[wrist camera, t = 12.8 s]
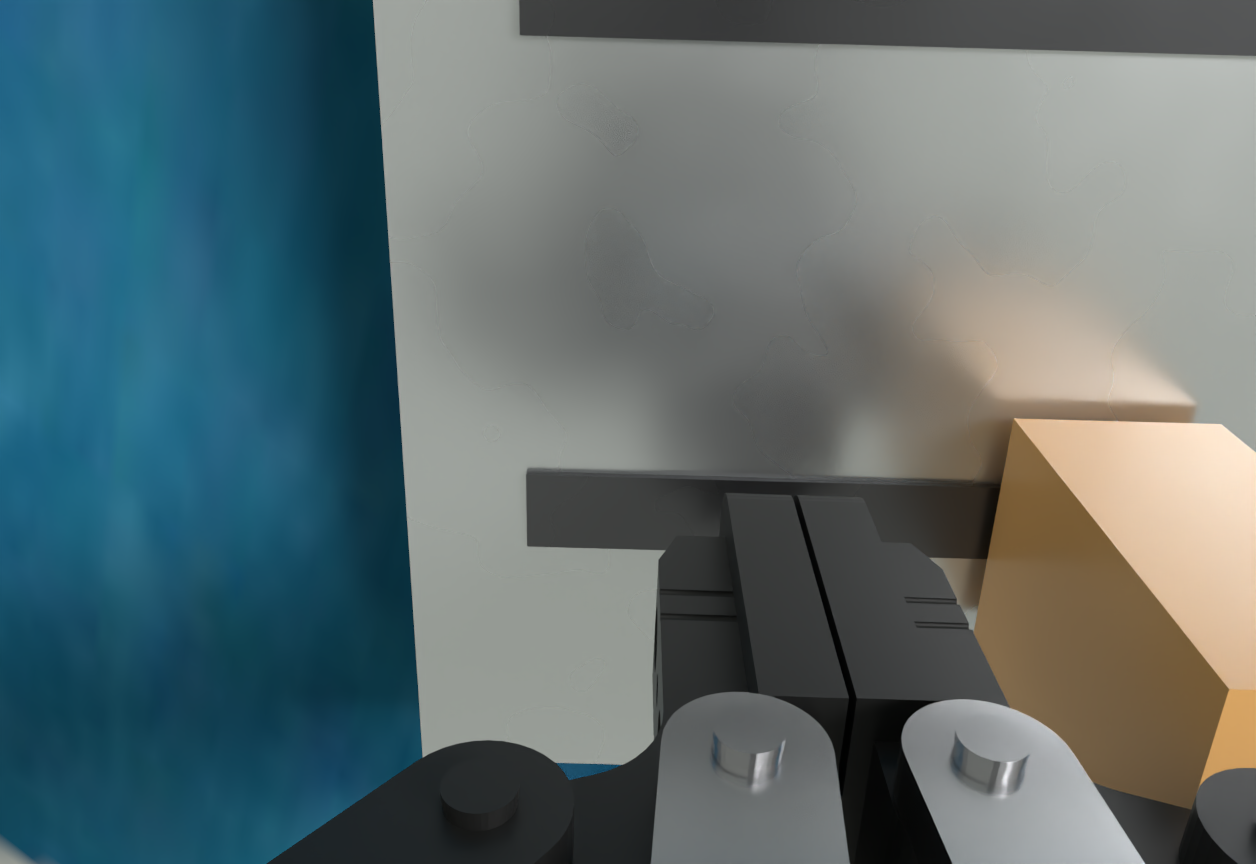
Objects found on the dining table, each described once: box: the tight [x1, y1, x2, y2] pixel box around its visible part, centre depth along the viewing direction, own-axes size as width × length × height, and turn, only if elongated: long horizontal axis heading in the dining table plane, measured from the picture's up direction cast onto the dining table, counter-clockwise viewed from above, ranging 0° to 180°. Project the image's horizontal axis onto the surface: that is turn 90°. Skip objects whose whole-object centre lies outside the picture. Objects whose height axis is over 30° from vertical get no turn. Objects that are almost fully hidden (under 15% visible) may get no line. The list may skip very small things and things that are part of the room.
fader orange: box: [974, 418, 1256, 809], centre depth 11 cm, size 3×2×5 cm
